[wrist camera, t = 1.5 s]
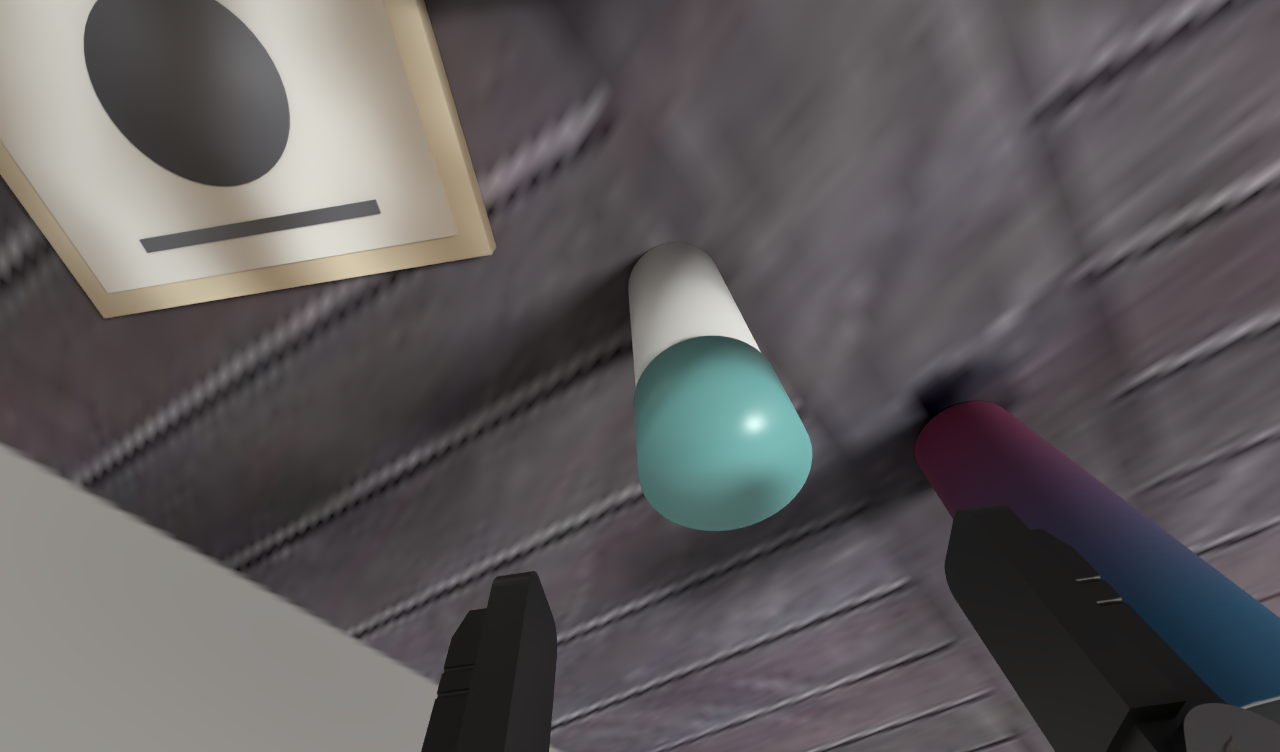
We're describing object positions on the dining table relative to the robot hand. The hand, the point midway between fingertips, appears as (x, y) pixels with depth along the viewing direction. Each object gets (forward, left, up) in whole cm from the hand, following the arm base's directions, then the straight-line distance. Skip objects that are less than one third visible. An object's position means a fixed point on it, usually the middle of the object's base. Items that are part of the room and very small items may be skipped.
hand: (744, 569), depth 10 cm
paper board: (+15, -10, -15) cm, 23 cm away
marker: (0, 0, -15) cm, 15 cm away
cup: (-14, +11, -15) cm, 24 cm away
